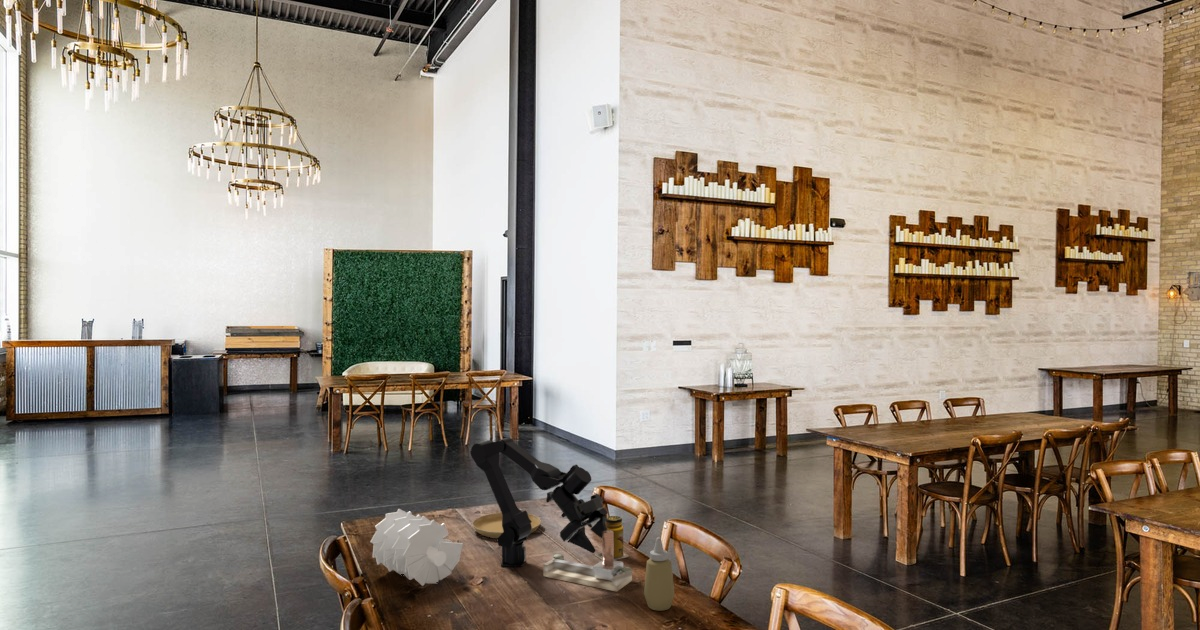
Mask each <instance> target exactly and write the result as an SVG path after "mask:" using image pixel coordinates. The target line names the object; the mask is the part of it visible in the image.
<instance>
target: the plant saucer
mask: <svg viewBox="0 0 1200 630" xmlns="http://www.w3.org/2000/svg"><path fill="white" fill-rule="evenodd" d="M502 517H503V516H502V512H501V511H500V512H495V513H489V514H488V513H487V514H485V515H481V516H479V517H477V518H475V519H474V520H473V521H472V523H471V525H472V527H473V529H474V530H475V532H477V533H478V534H480V535H481V536H484V537H486V538H489V537H490V539H497V538H498V537H499V536H500V535H501V534H502V533H503V532H504V531H503V528H502ZM528 517H529V519H530V520H531V521H532V522H531V526H532V529H531V532H530V534H529V535H531V534H532V533H534V532H535V531H537V530H538V528H539V527H540V525H541V524H542V520H541V518H540V517H539V516H537V515H534V514H532V513H528Z"/></svg>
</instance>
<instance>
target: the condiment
mask: <svg viewBox="0 0 1200 630" xmlns="http://www.w3.org/2000/svg"><path fill="white" fill-rule="evenodd" d="M605 524H606V527H607V530H611V531H613V541H614V560H615V561H617V560H620V559H624V558H629V555H628V554H625V553H624V526H623V519H622V517H621V516H617V515H611V516H610V515H609V516H607V517H606V521H605ZM593 554H594V553H593ZM593 556H595V557H596V558H598V559H600V560H602V557H601V556H602V552H599V553H595V554H594V555H593Z"/></svg>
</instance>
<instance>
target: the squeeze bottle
mask: <svg viewBox="0 0 1200 630" xmlns="http://www.w3.org/2000/svg"><path fill="white" fill-rule="evenodd" d="M655 539H656V540H655V543H654V548H653V549H652V550H651V551H649V559H648V560H646V566H645V578H644V589H643V590H644V591H643V595H644V597H645V602H646V603H647V607H648V608H649V609H651V610H654V611H658V612H659V611H661V612H662V611H666V610H669V609H670V608H671V607H672V603H673V601H674V597H675V586H674V575H673V567H672V561H671V560H670V559H669V558H668V557H669V556H668V551H667V550H666V549H664V546H663V540H662V538H661V537H656V538H655Z"/></svg>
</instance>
